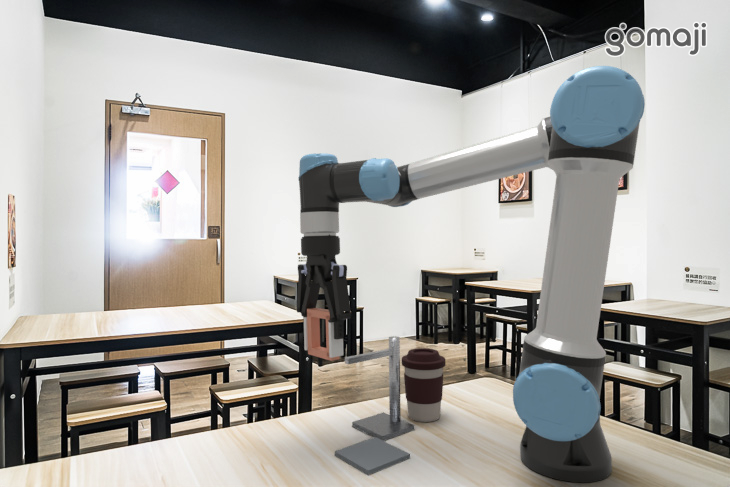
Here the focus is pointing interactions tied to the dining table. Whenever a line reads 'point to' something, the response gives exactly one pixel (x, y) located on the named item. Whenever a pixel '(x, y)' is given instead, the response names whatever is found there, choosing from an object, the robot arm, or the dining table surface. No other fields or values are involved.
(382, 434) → the stand
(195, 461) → the dining table surface
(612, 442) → the dining table surface
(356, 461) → the coaster
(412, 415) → the coffee cup
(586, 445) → the robot arm
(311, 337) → the link
